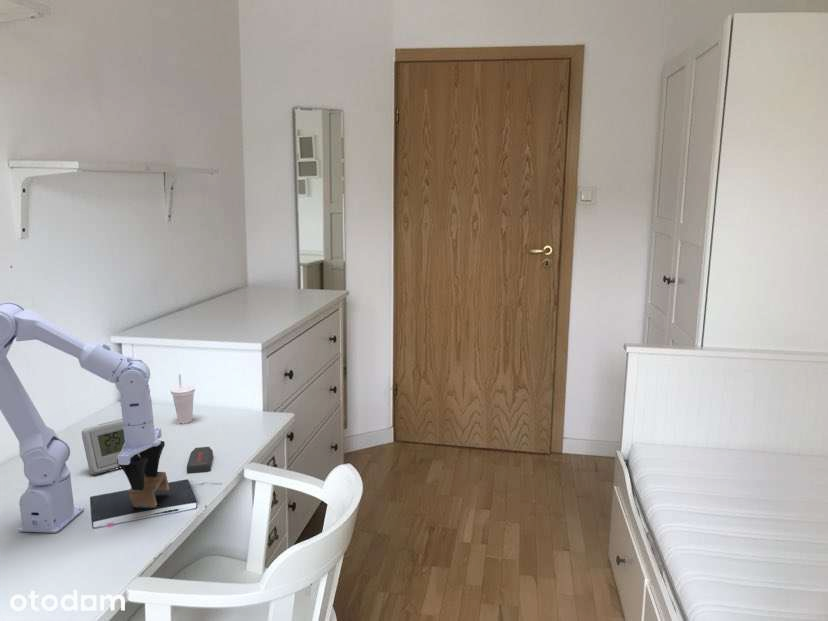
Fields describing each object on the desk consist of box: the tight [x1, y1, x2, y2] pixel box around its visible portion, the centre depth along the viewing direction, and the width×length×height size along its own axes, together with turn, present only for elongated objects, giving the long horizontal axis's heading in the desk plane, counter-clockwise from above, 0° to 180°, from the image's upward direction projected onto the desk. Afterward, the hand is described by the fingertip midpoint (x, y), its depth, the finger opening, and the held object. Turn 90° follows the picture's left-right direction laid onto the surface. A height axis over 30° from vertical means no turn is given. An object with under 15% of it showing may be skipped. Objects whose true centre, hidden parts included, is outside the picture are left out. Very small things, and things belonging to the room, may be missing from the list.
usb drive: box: [186, 446, 214, 475], centre depth 158 cm, size 5×12×3 cm, turn 12°
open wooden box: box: [128, 471, 170, 507], centre depth 138 cm, size 4×5×6 cm
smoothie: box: [170, 373, 196, 424], centre depth 185 cm, size 6×6×14 cm
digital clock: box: [81, 418, 141, 475], centre depth 157 cm, size 16×9×11 cm, turn 123°
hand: (144, 483), depth 135 cm, fingers open, 5 cm apart
